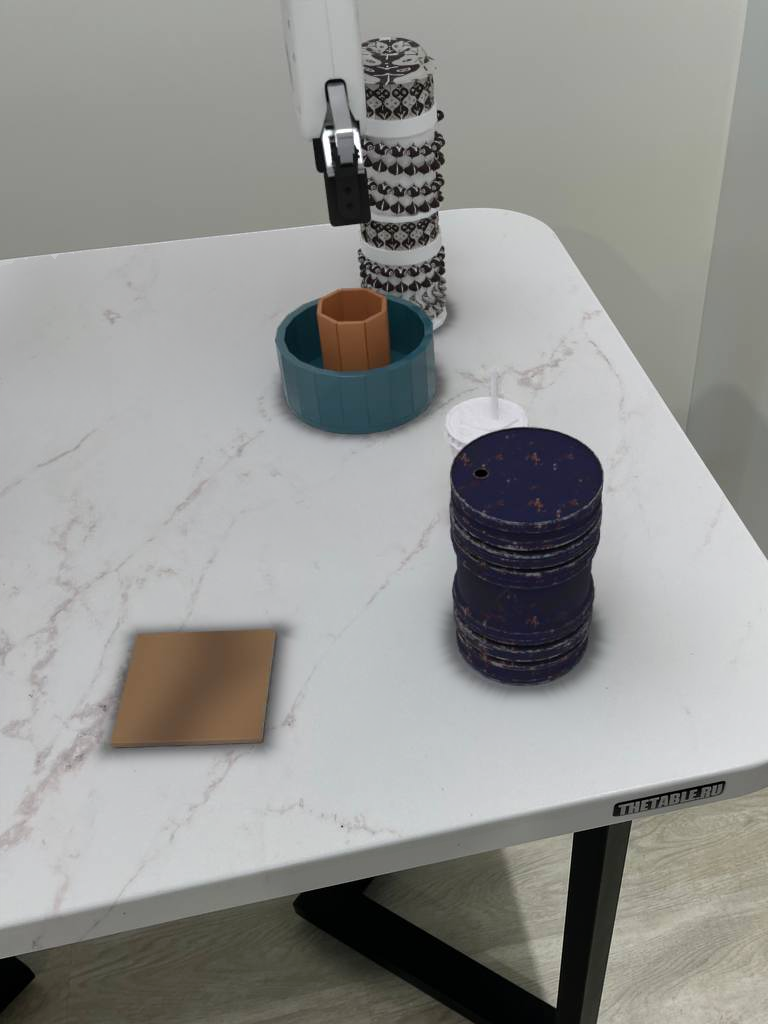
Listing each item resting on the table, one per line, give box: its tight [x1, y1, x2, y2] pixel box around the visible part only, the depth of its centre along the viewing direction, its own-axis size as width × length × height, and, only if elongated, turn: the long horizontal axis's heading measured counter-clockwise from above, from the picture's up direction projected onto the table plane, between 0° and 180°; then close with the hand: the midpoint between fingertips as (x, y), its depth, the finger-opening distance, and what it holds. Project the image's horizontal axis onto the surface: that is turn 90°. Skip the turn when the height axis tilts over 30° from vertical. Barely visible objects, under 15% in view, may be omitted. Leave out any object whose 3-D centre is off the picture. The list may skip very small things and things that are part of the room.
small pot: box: [317, 287, 392, 372], centre depth 95 cm, size 6×6×8 cm
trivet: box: [109, 628, 277, 749], centre depth 73 cm, size 10×10×1 cm
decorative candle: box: [357, 36, 448, 332], centre depth 98 cm, size 9×9×25 cm
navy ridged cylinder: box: [448, 426, 605, 686], centre depth 71 cm, size 10×10×15 cm
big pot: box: [274, 293, 437, 435], centre depth 96 cm, size 14×14×6 cm
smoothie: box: [443, 367, 530, 460], centre depth 80 cm, size 6×6×14 cm
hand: (342, 195), depth 85 cm, fingers open, 9 cm apart
